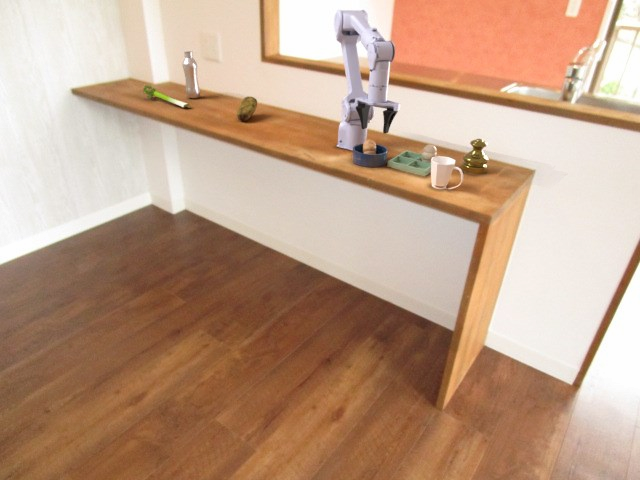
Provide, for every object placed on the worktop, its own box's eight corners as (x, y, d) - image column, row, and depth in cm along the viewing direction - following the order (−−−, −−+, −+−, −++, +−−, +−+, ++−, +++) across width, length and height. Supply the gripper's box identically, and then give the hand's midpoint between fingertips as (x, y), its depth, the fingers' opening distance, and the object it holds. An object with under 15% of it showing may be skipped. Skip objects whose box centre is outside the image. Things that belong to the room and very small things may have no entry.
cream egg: (418, 165, 145) (421, 144, 142) (424, 161, 148) (427, 141, 145) (431, 168, 143) (434, 147, 140) (436, 164, 146) (439, 144, 143)
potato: (228, 120, 183) (227, 100, 179) (248, 113, 193) (247, 94, 189) (245, 123, 180) (244, 103, 176) (264, 116, 190) (263, 96, 186)
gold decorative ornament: (489, 170, 144) (496, 139, 139) (478, 177, 139) (485, 145, 134) (467, 164, 148) (473, 134, 143) (456, 170, 143) (462, 139, 138)
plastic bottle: (203, 97, 214) (199, 51, 204) (193, 100, 209) (188, 53, 199) (194, 95, 217) (188, 50, 207) (183, 98, 212) (177, 52, 202)
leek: (180, 114, 195) (139, 96, 210) (193, 113, 200) (152, 96, 215) (181, 100, 192) (139, 83, 207) (194, 99, 198) (152, 83, 212)
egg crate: (387, 167, 144) (387, 160, 142) (405, 156, 153) (406, 150, 152) (424, 177, 137) (425, 170, 136) (441, 165, 146) (442, 158, 145)
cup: (433, 180, 136) (437, 154, 132) (465, 189, 130) (470, 162, 126) (421, 187, 131) (425, 160, 127) (454, 197, 126) (459, 169, 122)
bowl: (345, 163, 146) (346, 149, 144) (363, 154, 154) (364, 140, 151) (375, 171, 140) (377, 157, 138) (392, 161, 148) (394, 148, 146)
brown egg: (360, 158, 146) (360, 138, 147) (366, 162, 149) (366, 143, 151) (373, 156, 144) (372, 136, 145) (378, 160, 147) (378, 140, 148)
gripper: (350, 84, 137) (348, 129, 143) (394, 90, 129) (389, 137, 136) (362, 80, 142) (360, 124, 148) (405, 86, 134) (400, 132, 141)
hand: (374, 130), depth 142 cm, fingers open, 7 cm apart
